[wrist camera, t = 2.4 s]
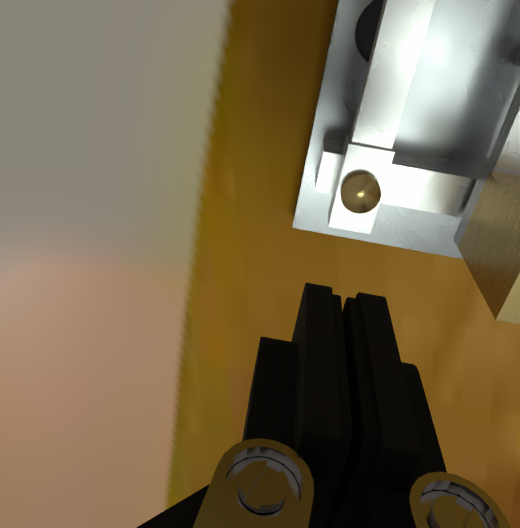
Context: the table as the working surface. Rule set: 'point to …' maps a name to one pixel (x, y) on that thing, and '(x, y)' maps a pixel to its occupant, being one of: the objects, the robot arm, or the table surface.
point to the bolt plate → (407, 118)
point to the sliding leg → (496, 221)
